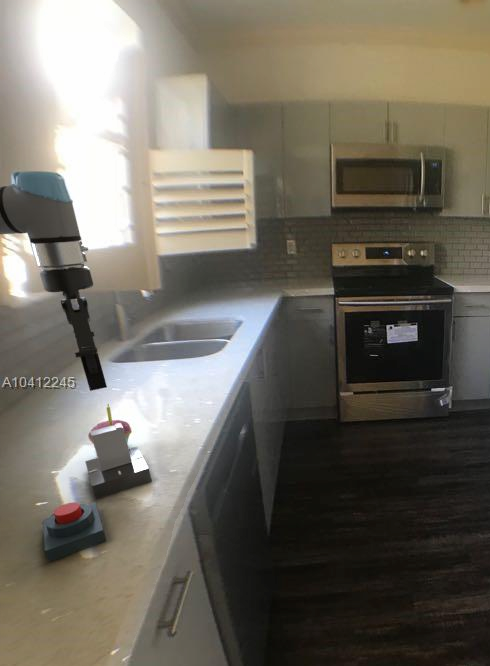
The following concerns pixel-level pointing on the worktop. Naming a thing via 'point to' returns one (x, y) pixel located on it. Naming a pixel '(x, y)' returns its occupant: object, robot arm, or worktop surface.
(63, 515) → the button
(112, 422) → the cupcake
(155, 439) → the worktop surface
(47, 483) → the worktop surface
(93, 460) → the plate
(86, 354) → the robot arm
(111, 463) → the hob knob
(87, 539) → the button box
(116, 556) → the worktop surface
